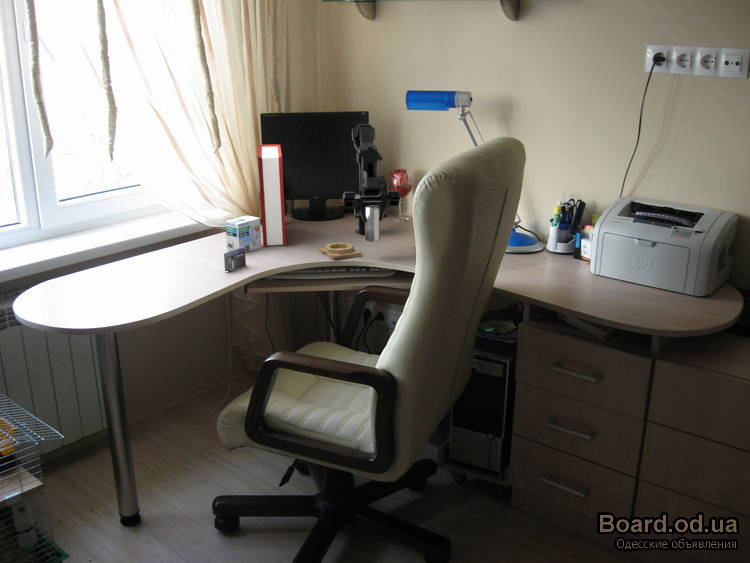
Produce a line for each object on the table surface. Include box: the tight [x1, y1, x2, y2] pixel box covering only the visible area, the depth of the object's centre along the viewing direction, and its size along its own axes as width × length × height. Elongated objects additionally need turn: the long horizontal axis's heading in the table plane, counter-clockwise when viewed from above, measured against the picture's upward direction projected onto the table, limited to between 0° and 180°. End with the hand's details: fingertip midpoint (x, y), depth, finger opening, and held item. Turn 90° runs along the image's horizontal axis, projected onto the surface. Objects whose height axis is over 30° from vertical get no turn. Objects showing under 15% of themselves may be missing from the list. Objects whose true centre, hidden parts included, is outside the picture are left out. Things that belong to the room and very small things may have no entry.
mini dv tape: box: [223, 248, 247, 273], centre depth 235 cm, size 8×2×6 cm, turn 149°
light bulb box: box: [224, 215, 262, 253], centre depth 255 cm, size 11×7×11 cm, turn 143°
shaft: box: [364, 205, 381, 242], centre depth 242 cm, size 5×5×11 cm
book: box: [257, 143, 287, 248], centre depth 267 cm, size 27×8×32 cm, turn 8°
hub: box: [318, 242, 362, 261], centre depth 250 cm, size 12×10×3 cm
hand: (372, 221), depth 240 cm, fingers closed on shaft, 5 cm apart
